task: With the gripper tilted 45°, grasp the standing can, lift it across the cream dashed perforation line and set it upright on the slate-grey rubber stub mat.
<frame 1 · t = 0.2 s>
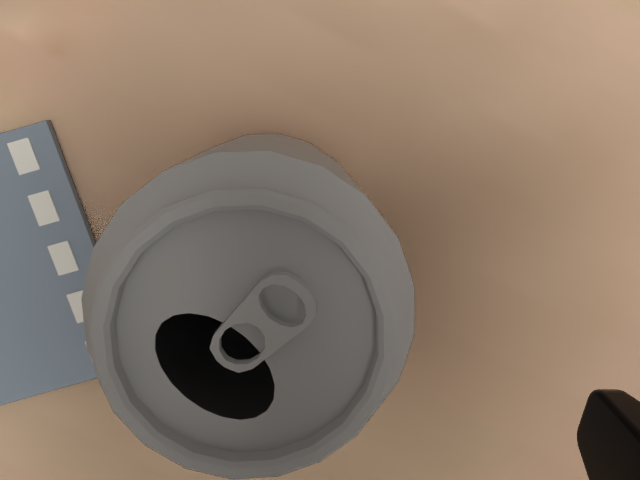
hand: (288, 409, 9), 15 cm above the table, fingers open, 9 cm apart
can: (268, 228, 24), on the table
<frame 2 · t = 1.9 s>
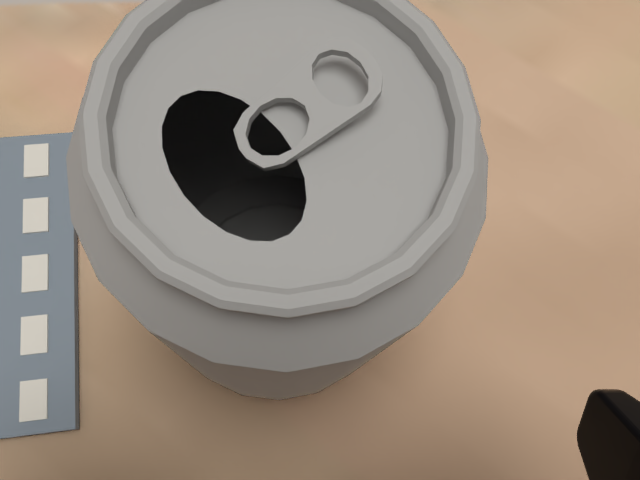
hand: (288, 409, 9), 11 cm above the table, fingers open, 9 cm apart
can: (277, 288, 21), on the table
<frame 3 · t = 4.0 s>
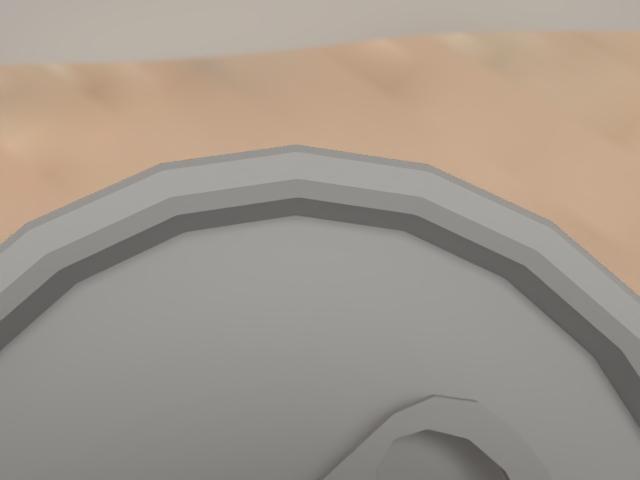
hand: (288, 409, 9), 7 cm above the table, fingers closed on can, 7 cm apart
can: (280, 475, 15), on the table, touching gripper
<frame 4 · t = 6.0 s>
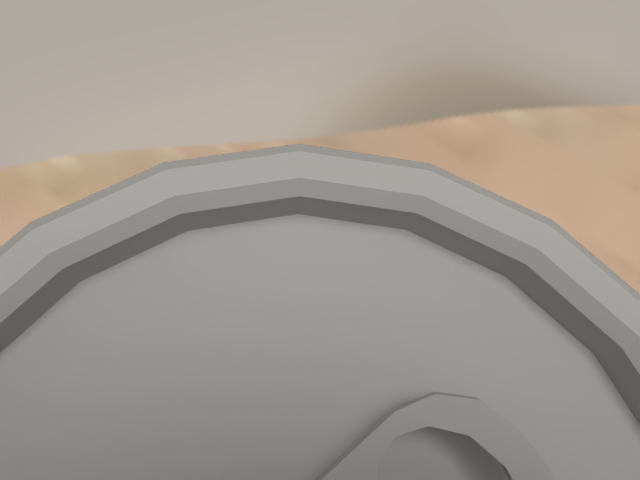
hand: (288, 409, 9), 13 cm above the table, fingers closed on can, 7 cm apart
can: (282, 474, 15), point 6 cm above the table, touching gripper
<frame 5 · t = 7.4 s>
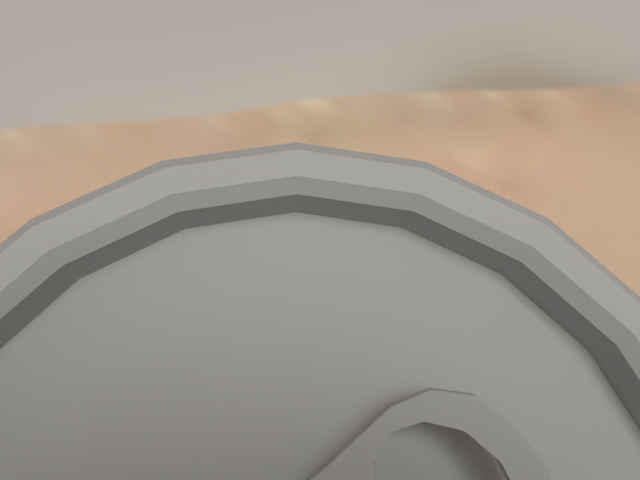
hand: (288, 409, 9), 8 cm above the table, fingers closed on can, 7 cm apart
can: (280, 473, 15), point 2 cm above the table, touching gripper
when the fingers open (8 cm above the table, at t = 8.3 s): can drops 1 cm, resting on stub mat.
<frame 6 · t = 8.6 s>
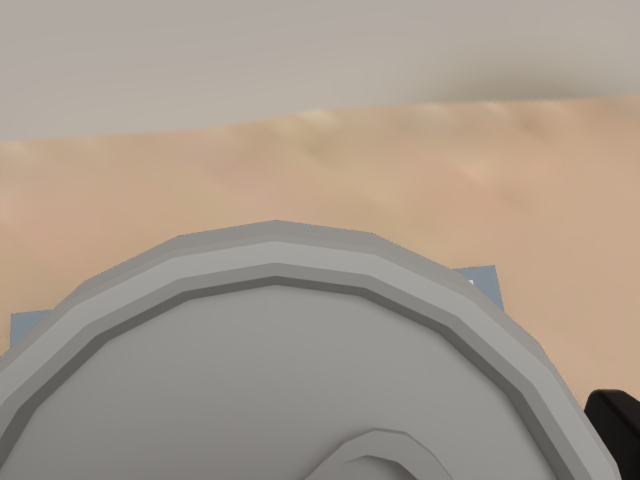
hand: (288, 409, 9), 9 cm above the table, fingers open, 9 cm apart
can: (282, 478, 16), resting on stub mat
stub mat: (280, 470, 17), on the table
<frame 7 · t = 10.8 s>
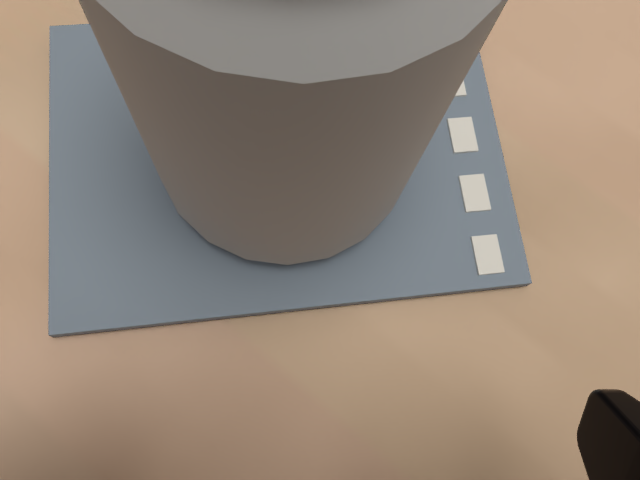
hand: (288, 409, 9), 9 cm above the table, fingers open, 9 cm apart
can: (284, 158, 19), resting on stub mat
stub mat: (282, 155, 19), on the table
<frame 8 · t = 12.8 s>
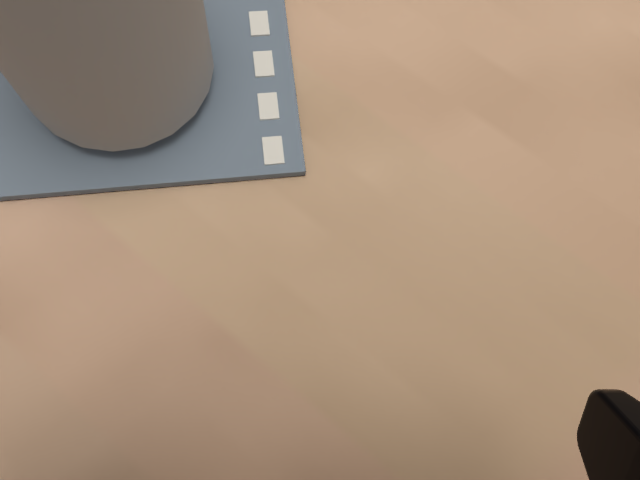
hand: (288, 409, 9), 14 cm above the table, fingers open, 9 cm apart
can: (124, 80, 25), resting on stub mat
stub mat: (124, 79, 25), on the table
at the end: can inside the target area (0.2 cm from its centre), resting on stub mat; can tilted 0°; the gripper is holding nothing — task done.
